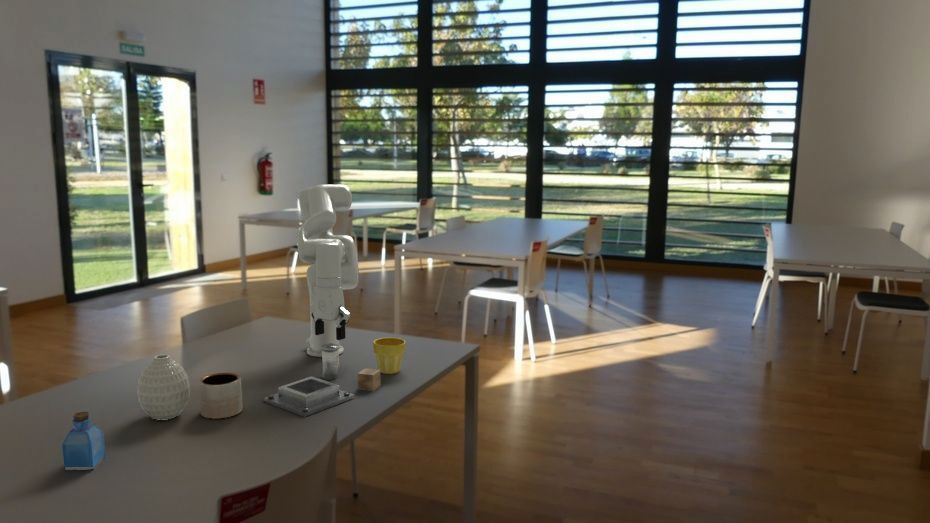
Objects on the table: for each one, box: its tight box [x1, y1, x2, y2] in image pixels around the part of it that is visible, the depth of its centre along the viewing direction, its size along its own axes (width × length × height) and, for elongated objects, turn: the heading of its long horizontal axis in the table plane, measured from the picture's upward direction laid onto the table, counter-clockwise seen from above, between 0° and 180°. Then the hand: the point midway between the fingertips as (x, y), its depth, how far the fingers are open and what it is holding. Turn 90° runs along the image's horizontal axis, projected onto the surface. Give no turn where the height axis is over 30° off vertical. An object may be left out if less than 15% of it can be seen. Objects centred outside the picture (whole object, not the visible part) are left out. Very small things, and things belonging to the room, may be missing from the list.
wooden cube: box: [357, 367, 382, 392], centre depth 208 cm, size 5×5×5 cm
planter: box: [198, 372, 244, 420], centre depth 188 cm, size 11×11×10 cm
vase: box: [136, 353, 191, 420], centre depth 184 cm, size 13×13×17 cm
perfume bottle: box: [61, 411, 106, 468], centre depth 157 cm, size 6×6×12 cm
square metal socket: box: [262, 375, 355, 418], centre depth 198 cm, size 18×18×4 cm
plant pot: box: [372, 336, 407, 375], centre depth 223 cm, size 10×10×10 cm
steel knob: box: [321, 343, 341, 381], centre depth 217 cm, size 6×6×10 cm
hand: (330, 336), depth 214 cm, fingers open, 9 cm apart
